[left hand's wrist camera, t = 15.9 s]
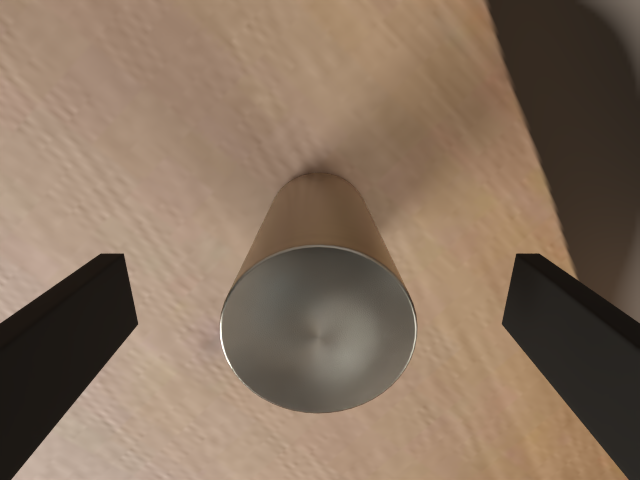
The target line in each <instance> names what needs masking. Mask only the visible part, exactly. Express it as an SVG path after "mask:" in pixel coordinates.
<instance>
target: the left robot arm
mask: <svg viewBox="0 0 640 480" xmlns="http://www.w3.org/2000/svg"><path fill="white" fill-rule="evenodd" d="M137 325H138V321H137V316H136V311H135V306H134V301H133V296H132V291H131V287H130V282H129V277H128V272H127V267H126V262H125V258H124V254H100V255H98V256H97V257H95V258H94V259H92V260H91V261H89V262H88V263H87V264H85V265H84V266H82V267H81V268H79V269H78V270H77V271H75V272H74V273H72V274H71V275H69V276H68V277H66V278H65V279H64V280H62V281H61V282H59V283H58V284H56V285H55V286H53V287H52V288H51V289H49V290H48V291H46V292H45V293H43V294H42V295H41V296H39V297H38V298H36V299H35V300H33V301H32V302H30V303H29V304H28V305H26V306H25V307H23V308H22V309H20V310H19V311H17V312H16V313H15V314H13V315H12V316H10V317H9V318H7V319H6V320H5V321H3V322H2V323H0V480H11V479H12V478H13V477H14V476H15V474H16V473H17V472H18V471H19V469H20V468H21V467H22V466H23V465H24V463H25V462H26V461H27V460H28V458H29V457H30V456H31V455H32V454H33V452H34V451H35V450H36V449H37V447H38V446H39V445H40V444H41V443H42V441H43V440H44V439H45V438H46V436H47V435H48V434H49V433H50V431H51V430H52V429H53V428H54V427H55V425H56V424H57V423H58V422H59V420H60V419H61V418H62V417H63V416H64V414H65V413H66V412H67V411H68V409H69V408H70V407H71V406H72V405H73V403H74V402H75V401H76V400H77V398H78V397H79V396H80V395H81V394H82V392H83V391H84V390H85V389H86V387H87V386H88V385H89V384H90V383H91V381H92V380H93V379H94V378H95V376H96V375H97V374H98V373H99V371H100V370H101V369H102V368H103V367H104V365H105V364H106V363H107V362H108V360H109V359H110V358H111V357H112V356H113V354H114V353H115V352H116V351H117V349H118V348H119V347H120V346H121V345H122V343H123V342H124V341H125V340H126V338H127V337H128V336H129V335H130V334H131V332H132V331H133V330H134V329H135V327H136V326H137ZM502 325H503V326H504V327H505V329H506V330H507V331H508V332H509V334H510V335H511V336H512V337H513V338H514V340H515V341H516V342H517V343H518V345H519V346H520V347H521V348H522V349H523V351H524V352H525V353H526V354H527V356H528V357H529V358H530V359H531V360H532V362H533V363H534V364H535V365H536V367H537V368H538V369H539V370H540V371H541V373H542V374H543V375H544V376H545V378H546V379H547V380H548V381H549V383H550V384H551V385H552V386H553V387H554V389H555V390H556V391H557V392H558V394H559V395H560V396H561V397H562V398H563V400H564V401H565V402H566V403H567V405H568V406H569V407H570V408H571V409H572V411H573V412H574V413H575V414H576V416H577V417H578V418H579V419H580V420H581V422H582V423H583V424H584V425H585V427H586V428H587V429H588V430H589V431H590V433H591V434H592V435H593V436H594V438H595V439H596V440H597V441H598V443H599V444H600V445H601V446H602V447H603V449H604V450H605V451H606V452H607V454H608V455H609V456H610V457H611V458H612V460H613V461H614V462H615V463H616V465H617V466H618V467H619V468H620V469H621V471H622V472H623V473H624V474H625V476H626V477H627V478H628V479H629V480H640V323H638V322H637V321H635V320H634V319H633V318H631V317H630V316H628V315H627V314H625V313H624V312H622V311H621V310H620V309H618V308H617V307H615V306H614V305H612V304H611V303H609V302H608V301H607V300H605V299H604V298H602V297H601V296H599V295H598V294H597V293H595V292H594V291H592V290H591V289H589V288H588V287H586V286H585V285H583V284H582V283H581V282H579V281H578V280H576V279H575V278H574V277H572V276H571V275H569V274H568V273H566V272H565V271H563V270H562V269H561V268H559V267H558V266H556V265H555V264H553V263H552V262H551V261H549V260H548V259H546V258H545V257H543V256H542V255H540V254H516V258H515V262H514V267H513V272H512V277H511V282H510V287H509V291H508V296H507V301H506V306H505V311H504V316H503V321H502Z"/></svg>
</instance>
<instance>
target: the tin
mask: <svg viewBox="0 0 640 480" xmlns="http://www.w3.org/2000/svg"><path fill="white" fill-rule="evenodd" d="M220 338H221V344H222V348H223V351H224V354H225V357H226V359H227V361H228V363H229V365H230V367H231V369H232V370H233V372H234V373H235V375H236V376H237V377H238V378H239V379H240V380H241V382H242V383H243V384H244V385H245V386H246V387H248V388H249V389H250V390H251V391H252V392H254V393H255V394H257V395H258V396H259V397H261V398H263V399H265V400H266V401H268V402H270V403H272V404H275V405H277V406H280V407H282V408H286V409H290V410H293V411H299V412H305V413H331V412H338V411H343V410H347V409H351V408H354V407H357V406H360V405H362V404H364V403H367V402H369V401H371V400H373V399H374V398H376V397H377V396H379V395H380V394H382V393H383V392H385V391H386V390H387V389H388V388H389V387H391V386H392V385H393V384H394V383H395V381H396V380H397V379H398V378H399V377H400V376H401V374H402V373H403V372H404V370H405V369H406V367H407V365H408V363H409V361H410V359H411V357H412V354H413V351H414V348H415V344H416V339H417V317H416V312H415V308H414V305H413V302H412V300H411V297H410V295H409V293H408V291H407V289H406V287H405V285H404V282H403V280H402V278H401V276H400V274H399V272H398V270H397V268H396V266H395V264H394V262H393V260H392V258H391V256H390V253H389V251H388V249H387V247H386V245H385V243H384V241H383V239H382V237H381V235H380V233H379V231H378V229H377V227H376V224H375V222H374V220H373V218H372V216H371V214H370V212H369V210H368V208H367V206H366V204H365V202H364V200H363V198H362V196H361V195H360V193H359V192H358V191H357V189H356V188H355V187H354V186H353V185H351V184H350V183H349V182H347V181H346V180H344V179H342V178H340V177H338V176H335V175H332V174H328V173H310V174H305V175H302V176H299V177H297V178H295V179H293V180H291V181H290V182H288V183H287V184H286V185H285V186H284V187H283V188H282V189H281V190H280V191H279V192H278V194H277V195H276V197H275V198H274V200H273V203H272V205H271V207H270V209H269V211H268V213H267V215H266V217H265V219H264V221H263V223H262V225H261V227H260V229H259V231H258V233H257V236H256V238H255V240H254V242H253V244H252V246H251V248H250V250H249V252H248V254H247V256H246V258H245V260H244V262H243V264H242V266H241V269H240V271H239V273H238V275H237V277H236V279H235V281H234V283H233V285H232V287H231V289H230V291H229V293H228V295H227V297H226V300H225V302H224V305H223V308H222V312H221V318H220Z"/></svg>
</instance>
